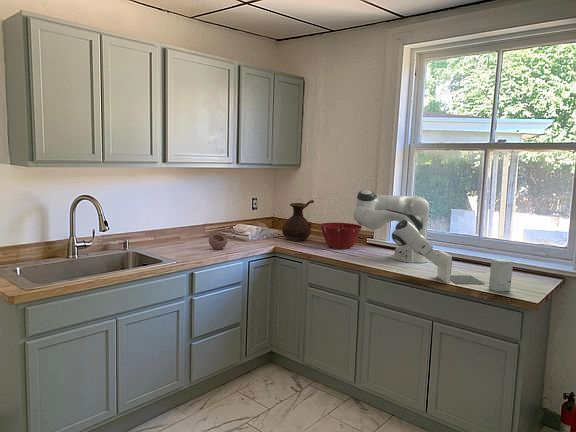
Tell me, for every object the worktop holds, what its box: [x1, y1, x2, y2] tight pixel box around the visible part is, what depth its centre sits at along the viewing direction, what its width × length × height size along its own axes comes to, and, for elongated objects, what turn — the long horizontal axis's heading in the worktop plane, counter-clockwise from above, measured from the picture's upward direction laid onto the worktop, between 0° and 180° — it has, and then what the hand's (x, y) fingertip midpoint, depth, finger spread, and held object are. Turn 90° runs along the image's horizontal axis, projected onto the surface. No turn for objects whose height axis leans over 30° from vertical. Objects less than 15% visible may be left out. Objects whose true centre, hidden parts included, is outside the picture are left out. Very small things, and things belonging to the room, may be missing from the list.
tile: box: [436, 250, 453, 284], centre depth 239 cm, size 2×12×14 cm, turn 3°
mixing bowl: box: [319, 222, 363, 250], centre depth 317 cm, size 28×28×16 cm
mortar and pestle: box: [208, 231, 228, 250], centre depth 299 cm, size 12×12×11 cm
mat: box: [450, 274, 486, 285], centre depth 241 cm, size 15×16×1 cm
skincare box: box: [488, 258, 514, 292], centre depth 224 cm, size 8×6×15 cm
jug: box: [281, 199, 315, 242], centre depth 340 cm, size 22×22×30 cm
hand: (438, 265), depth 239 cm, fingers closed
